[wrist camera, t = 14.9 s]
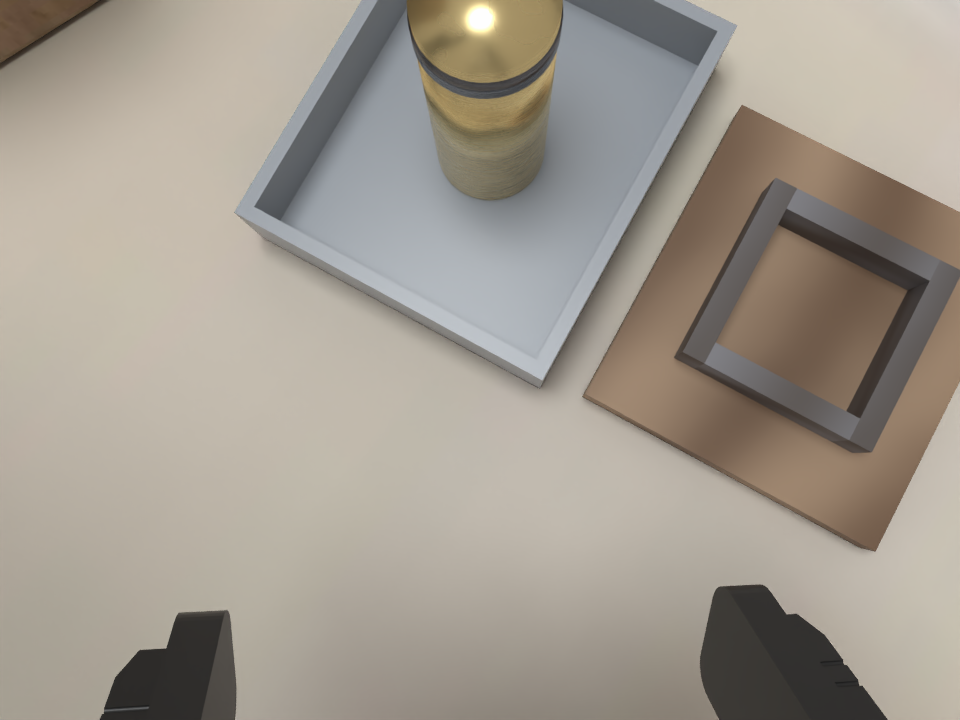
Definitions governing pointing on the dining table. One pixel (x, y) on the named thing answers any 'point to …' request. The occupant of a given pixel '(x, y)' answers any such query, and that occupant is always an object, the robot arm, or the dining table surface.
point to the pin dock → (796, 329)
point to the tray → (470, 221)
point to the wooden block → (33, 21)
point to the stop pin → (487, 87)
